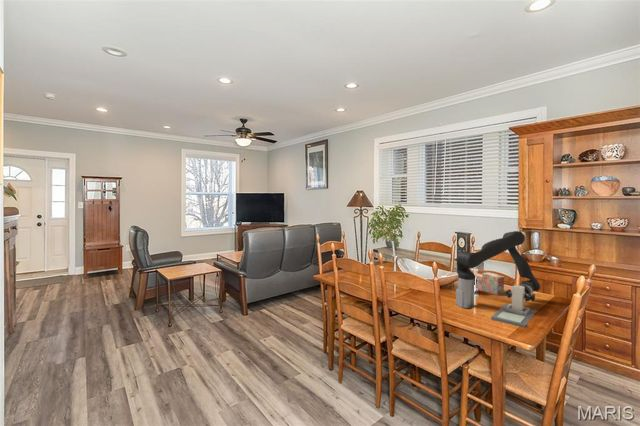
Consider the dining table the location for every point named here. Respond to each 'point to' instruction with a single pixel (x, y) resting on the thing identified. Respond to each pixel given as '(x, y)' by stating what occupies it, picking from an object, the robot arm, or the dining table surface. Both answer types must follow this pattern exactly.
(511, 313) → the grey tray
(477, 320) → the dining table surface
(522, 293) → the cream block
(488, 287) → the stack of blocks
